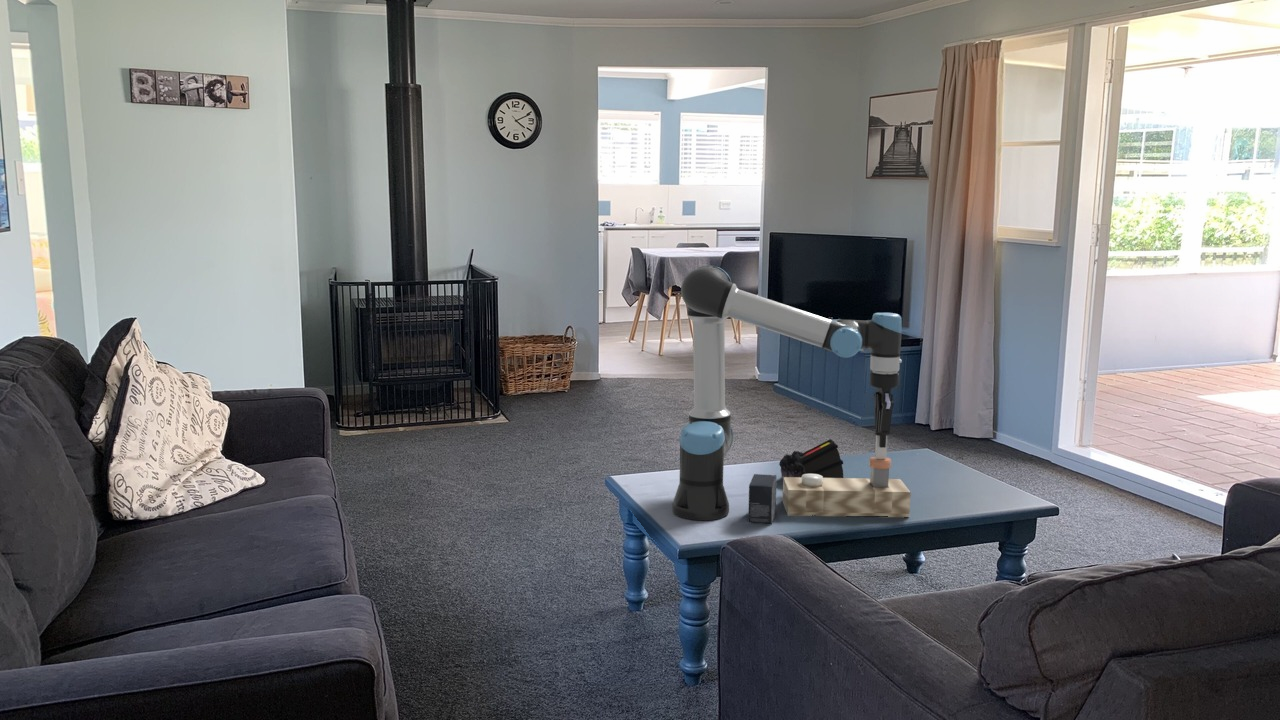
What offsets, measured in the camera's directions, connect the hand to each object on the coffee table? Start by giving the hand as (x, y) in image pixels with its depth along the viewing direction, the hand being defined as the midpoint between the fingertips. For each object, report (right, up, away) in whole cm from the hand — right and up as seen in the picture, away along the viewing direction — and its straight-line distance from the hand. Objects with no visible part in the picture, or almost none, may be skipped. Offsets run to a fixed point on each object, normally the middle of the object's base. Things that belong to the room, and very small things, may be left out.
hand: (880, 458), depth 260 cm
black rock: (-16, -10, +30) cm, 35 cm away
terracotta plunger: (0, -8, +1) cm, 8 cm away
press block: (-9, -14, +3) cm, 17 cm away
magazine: (-13, -12, +19) cm, 25 cm away
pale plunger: (-18, -12, +3) cm, 22 cm away
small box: (-32, -15, -5) cm, 36 cm away
